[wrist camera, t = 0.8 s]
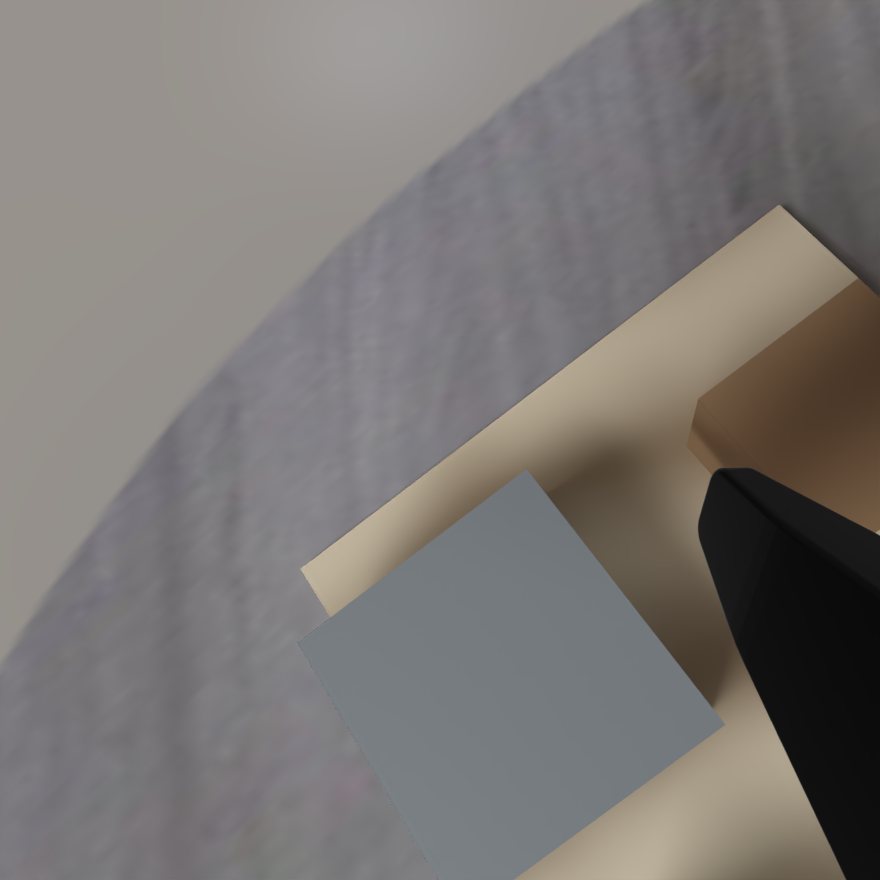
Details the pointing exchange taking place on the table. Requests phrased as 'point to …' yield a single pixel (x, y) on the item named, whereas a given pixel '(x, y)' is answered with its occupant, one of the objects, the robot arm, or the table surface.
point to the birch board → (646, 551)
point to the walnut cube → (806, 409)
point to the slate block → (505, 688)
